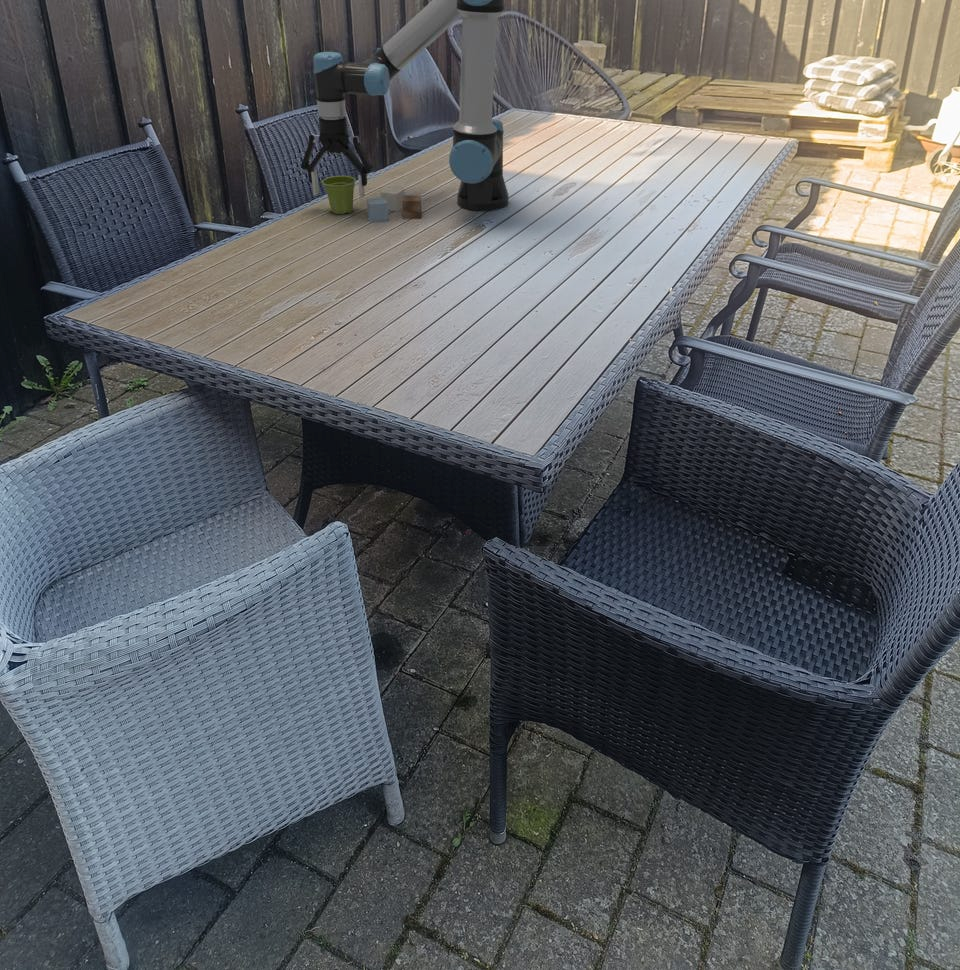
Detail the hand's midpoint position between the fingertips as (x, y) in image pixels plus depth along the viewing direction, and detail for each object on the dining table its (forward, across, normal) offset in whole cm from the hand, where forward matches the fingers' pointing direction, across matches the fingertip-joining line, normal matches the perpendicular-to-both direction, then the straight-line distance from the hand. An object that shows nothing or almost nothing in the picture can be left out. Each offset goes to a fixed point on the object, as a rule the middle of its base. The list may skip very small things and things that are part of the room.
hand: (339, 195), depth 240 cm
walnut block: (+4, -22, +1) cm, 22 cm away
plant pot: (+4, 0, 0) cm, 5 cm away
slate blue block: (+4, -12, +5) cm, 14 cm away
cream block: (+4, -14, -5) cm, 16 cm away
